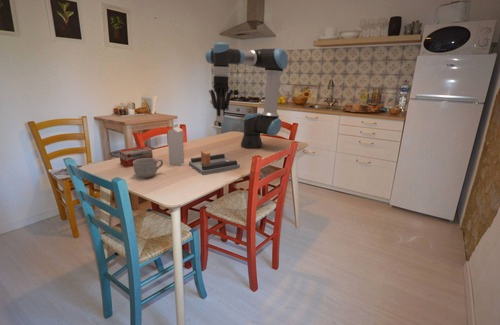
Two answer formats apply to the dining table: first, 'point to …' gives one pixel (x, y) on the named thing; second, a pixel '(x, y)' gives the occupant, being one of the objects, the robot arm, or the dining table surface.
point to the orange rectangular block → (205, 157)
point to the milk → (175, 146)
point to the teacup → (146, 167)
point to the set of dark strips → (216, 165)
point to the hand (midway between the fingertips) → (220, 122)
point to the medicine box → (134, 155)
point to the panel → (198, 167)
